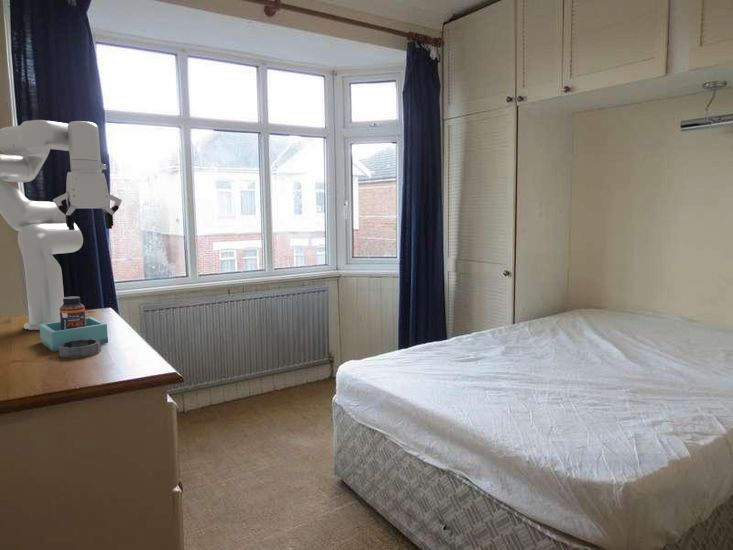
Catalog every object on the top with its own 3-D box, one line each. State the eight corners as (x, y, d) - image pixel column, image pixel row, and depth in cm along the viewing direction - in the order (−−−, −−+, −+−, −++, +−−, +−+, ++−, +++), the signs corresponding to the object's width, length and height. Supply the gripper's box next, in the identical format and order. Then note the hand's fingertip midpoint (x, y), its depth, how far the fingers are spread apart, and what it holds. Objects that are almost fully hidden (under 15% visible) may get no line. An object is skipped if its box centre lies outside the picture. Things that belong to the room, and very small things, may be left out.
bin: (40, 342, 138) (39, 324, 137) (93, 334, 147) (91, 317, 146) (53, 351, 128) (51, 332, 128) (108, 342, 137) (106, 324, 137)
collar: (55, 353, 127) (55, 343, 127) (94, 346, 133) (93, 337, 133) (65, 360, 121) (64, 350, 120) (105, 353, 127) (104, 343, 127)
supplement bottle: (68, 342, 134) (64, 299, 132) (57, 339, 137) (53, 297, 136) (91, 337, 138) (88, 296, 137) (80, 334, 142) (77, 294, 140)
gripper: (114, 170, 150) (118, 228, 152) (47, 166, 138) (52, 229, 140) (123, 168, 144) (127, 228, 147) (54, 165, 132) (59, 230, 135)
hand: (90, 229), depth 143 cm, fingers open, 9 cm apart
